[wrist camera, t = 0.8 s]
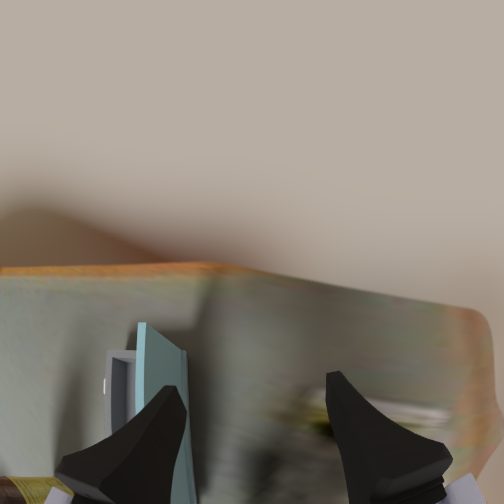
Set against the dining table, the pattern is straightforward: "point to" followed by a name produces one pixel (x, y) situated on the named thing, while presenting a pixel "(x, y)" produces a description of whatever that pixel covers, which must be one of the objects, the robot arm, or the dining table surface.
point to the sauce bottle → (29, 489)
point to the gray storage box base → (125, 392)
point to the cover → (151, 382)
